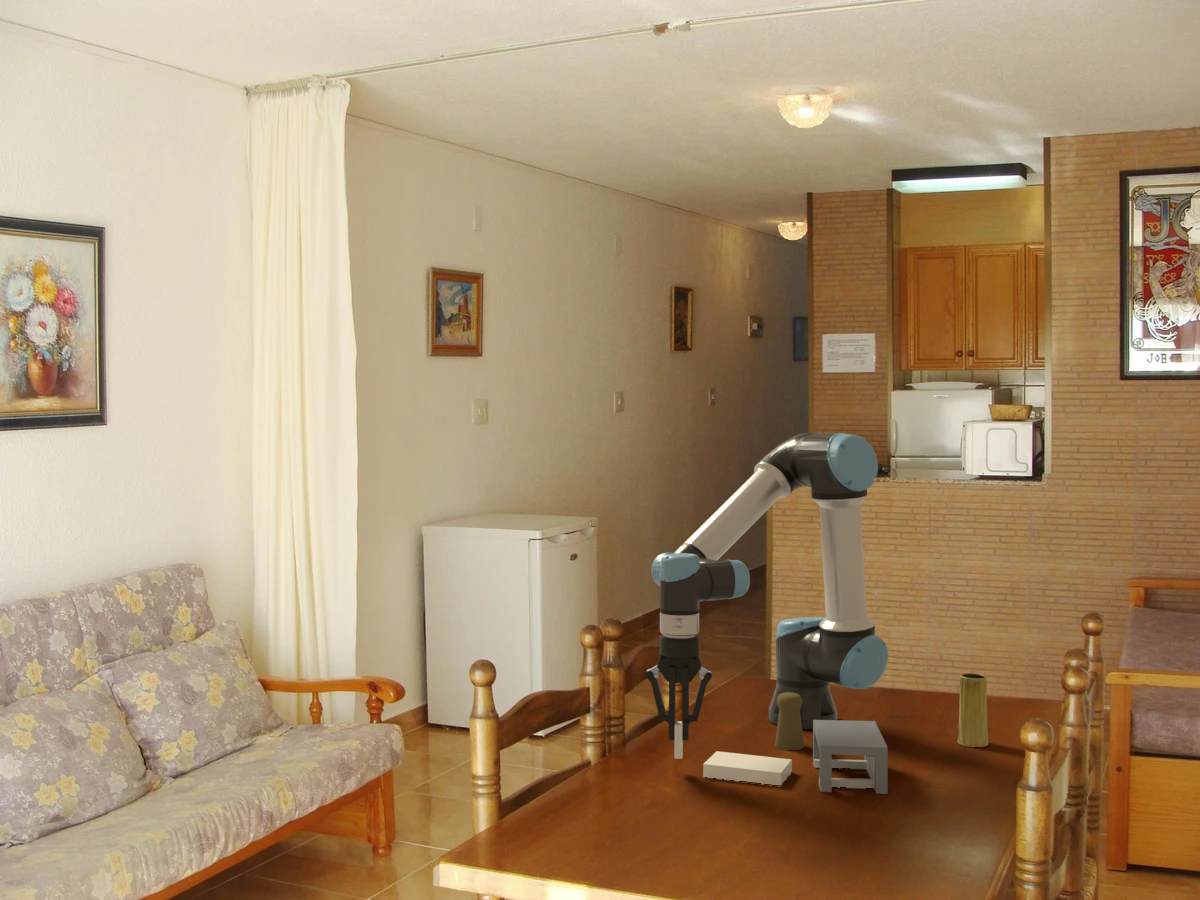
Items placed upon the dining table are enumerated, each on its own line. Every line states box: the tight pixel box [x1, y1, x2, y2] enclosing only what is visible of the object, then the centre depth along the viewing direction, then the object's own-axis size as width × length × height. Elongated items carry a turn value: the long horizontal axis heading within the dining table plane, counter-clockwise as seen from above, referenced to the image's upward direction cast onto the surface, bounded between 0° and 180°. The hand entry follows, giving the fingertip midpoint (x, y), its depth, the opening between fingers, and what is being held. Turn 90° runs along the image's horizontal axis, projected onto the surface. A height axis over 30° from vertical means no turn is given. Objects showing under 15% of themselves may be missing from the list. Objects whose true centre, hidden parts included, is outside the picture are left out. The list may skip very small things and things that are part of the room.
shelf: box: [812, 719, 889, 795], centre depth 224 cm, size 18×12×8 cm, turn 174°
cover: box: [702, 750, 793, 786], centre depth 226 cm, size 9×15×3 cm, turn 68°
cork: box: [774, 692, 805, 751], centre depth 245 cm, size 6×6×11 cm
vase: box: [957, 672, 989, 748], centre depth 246 cm, size 6×6×14 cm
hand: (678, 756), depth 227 cm, fingers closed
